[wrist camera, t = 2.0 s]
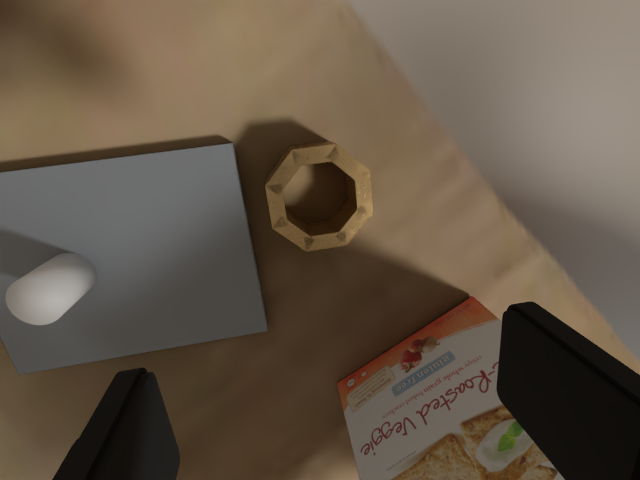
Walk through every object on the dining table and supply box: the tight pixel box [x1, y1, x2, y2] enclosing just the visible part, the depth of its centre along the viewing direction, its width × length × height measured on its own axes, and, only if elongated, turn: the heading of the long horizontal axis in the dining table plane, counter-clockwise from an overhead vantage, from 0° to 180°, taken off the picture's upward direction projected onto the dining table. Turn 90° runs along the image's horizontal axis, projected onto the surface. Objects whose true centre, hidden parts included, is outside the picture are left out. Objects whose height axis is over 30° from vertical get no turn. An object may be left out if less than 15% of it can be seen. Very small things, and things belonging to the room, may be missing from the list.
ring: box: [265, 141, 373, 252], centre depth 24 cm, size 7×7×3 cm
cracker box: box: [337, 296, 565, 480], centre depth 22 cm, size 14×6×21 cm, turn 124°
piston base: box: [0, 143, 268, 375], centre depth 23 cm, size 18×14×5 cm
